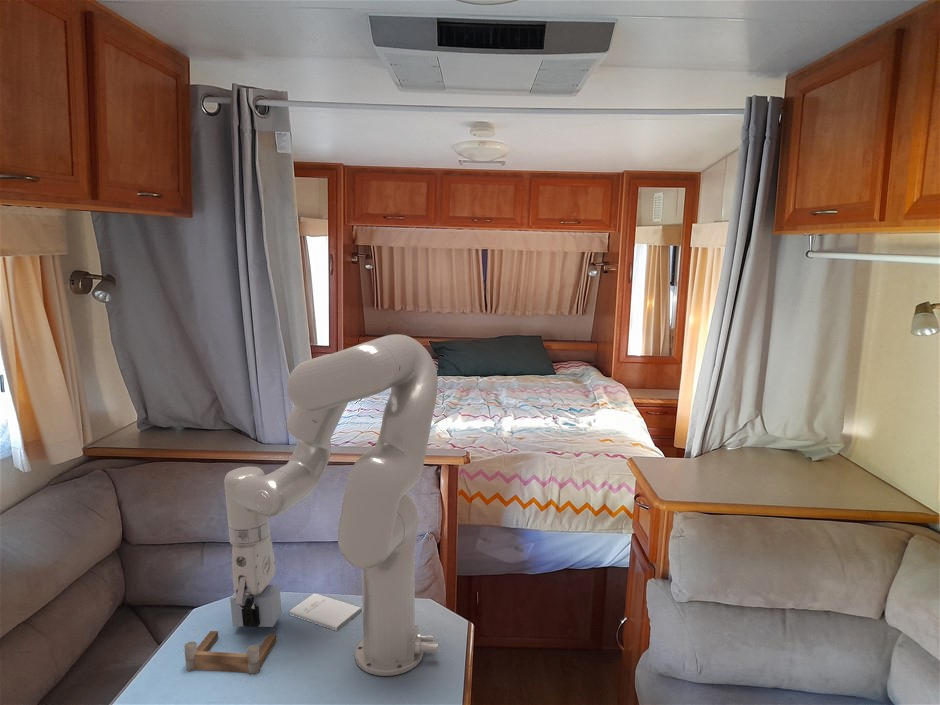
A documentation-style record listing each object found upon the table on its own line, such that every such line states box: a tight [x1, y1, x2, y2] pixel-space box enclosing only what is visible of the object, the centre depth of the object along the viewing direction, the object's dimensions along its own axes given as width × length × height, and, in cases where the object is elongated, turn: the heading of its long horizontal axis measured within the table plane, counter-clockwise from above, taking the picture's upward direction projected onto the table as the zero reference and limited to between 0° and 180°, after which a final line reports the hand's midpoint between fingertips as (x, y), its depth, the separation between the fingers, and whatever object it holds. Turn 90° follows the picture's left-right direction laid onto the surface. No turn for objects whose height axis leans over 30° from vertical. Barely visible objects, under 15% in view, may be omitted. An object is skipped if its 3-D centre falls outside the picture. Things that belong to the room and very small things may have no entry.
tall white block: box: [229, 584, 283, 628], centre depth 131 cm, size 8×5×6 cm, turn 86°
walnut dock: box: [183, 630, 277, 675], centre depth 122 cm, size 14×10×4 cm
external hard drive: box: [288, 593, 363, 632], centre depth 137 cm, size 2×8×12 cm
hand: (257, 616), depth 131 cm, fingers closed on tall white block, 5 cm apart
